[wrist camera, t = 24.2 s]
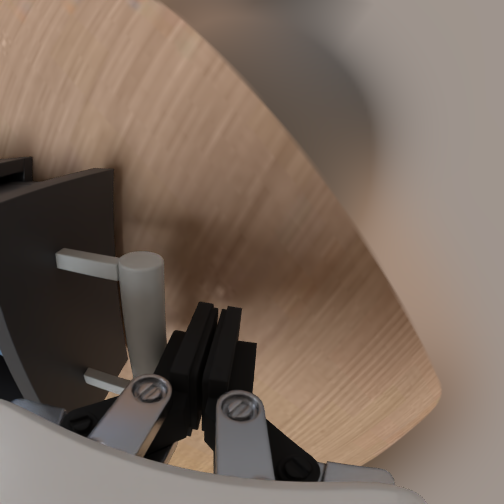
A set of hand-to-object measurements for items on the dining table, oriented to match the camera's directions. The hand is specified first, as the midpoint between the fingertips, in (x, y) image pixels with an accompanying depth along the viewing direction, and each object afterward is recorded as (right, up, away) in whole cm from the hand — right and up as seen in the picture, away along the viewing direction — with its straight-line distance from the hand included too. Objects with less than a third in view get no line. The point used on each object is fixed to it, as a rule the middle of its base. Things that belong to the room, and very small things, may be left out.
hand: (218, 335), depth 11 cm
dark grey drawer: (-10, +3, +3) cm, 11 cm away
